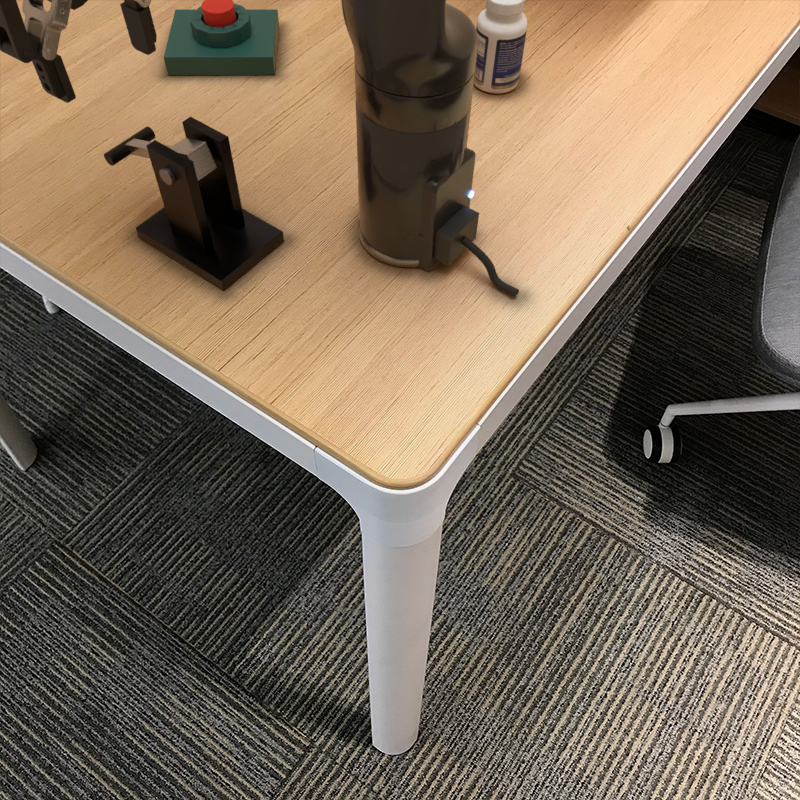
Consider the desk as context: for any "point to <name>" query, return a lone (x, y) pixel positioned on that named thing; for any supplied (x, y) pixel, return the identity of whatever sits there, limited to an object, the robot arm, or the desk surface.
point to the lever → (185, 147)
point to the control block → (223, 44)
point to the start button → (218, 12)
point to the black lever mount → (205, 213)
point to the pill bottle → (500, 45)
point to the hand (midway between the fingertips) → (106, 73)
